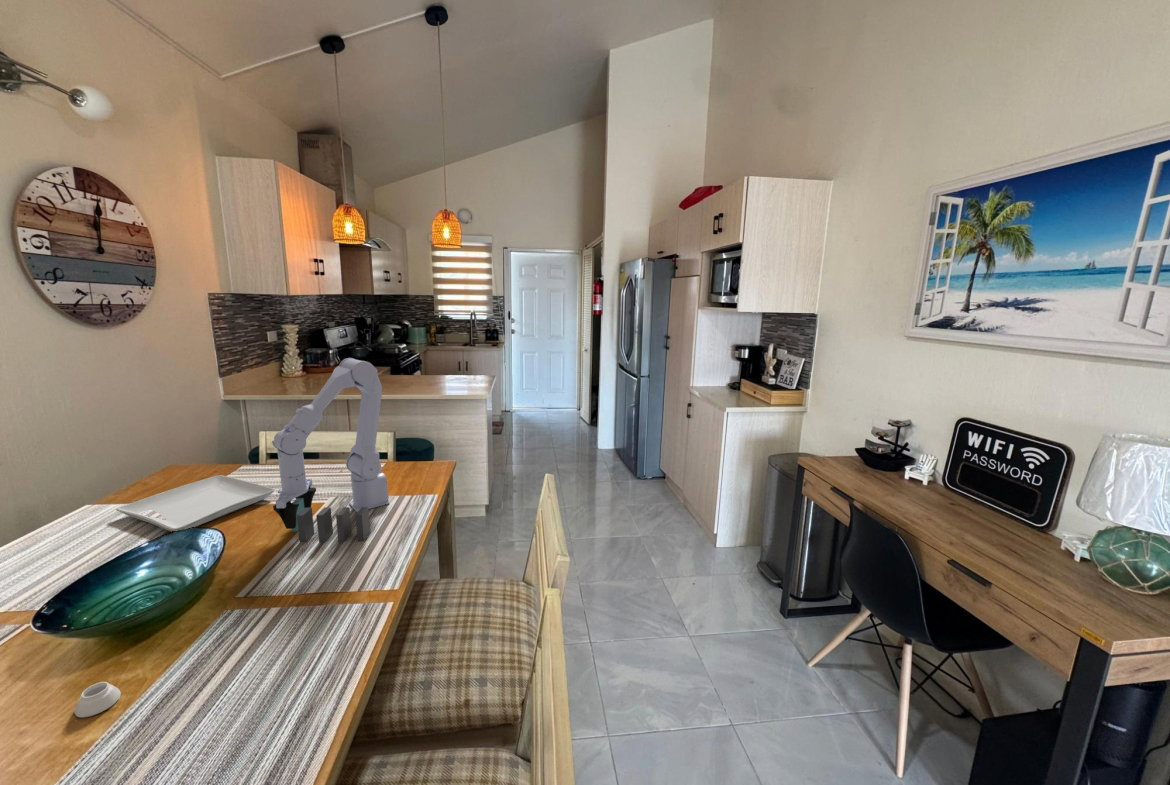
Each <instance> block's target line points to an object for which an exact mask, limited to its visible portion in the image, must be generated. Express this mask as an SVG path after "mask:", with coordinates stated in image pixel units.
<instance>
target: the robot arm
mask: <svg viewBox="0 0 1170 785" xmlns="http://www.w3.org/2000/svg"><path fill="white" fill-rule="evenodd" d="M378 371H379V370H378V369H377V368H376V366H374V365H373V364H372V363H371V362H370V361H365V360H359V359H355V358H353V357H348V358H344V359H343V360H341V361H340V363H339V365H338V366H336V367H335V368H334V369H333V371H332V373H331V375H330V377H329V379H327V381H326V383H325V384H324V386H322V388H321V390H320V391H319V392H318V393H317V395H316V396H315V398H314V399H313V400H312V401H311V403H310V404H306V405H303V406H301V407H300V408H297V409H296V410H295V415H294V416H293V417H292V419H291V420H290V421H289V422H288V423H287V424H285V425H284V426H283V429H282V430H279V431H277V432H276V433H275V435H274V437H273V440H271V444H272V445H273V447H274V448H275V449H277V458H278V459H277V461H278V470H279V476H280V478H279V479H280V484H281V485H280V486H281V488H280V489H278V490H277V494H279V496H278V498H277V500H275V504H274V505H273V511H275V513H277V515H278V516H279V517H280V518H281V520H282V522H283V526H284V527H285V529H287V530H289V529H290V530H291V529H294V528H295V527H296V513H297V509H298V506H299V504H292V501H294V500H296V499H297V498H303V499H304V508H312V502H313V499H314V496H315V494H316V492H317V488H316V487H315V486H313V480H312V478H307V477H306V476H307V475H306V468H305V466H306V465H305V459H304V452H303V450H304V449H305V448H306V446H307V439H308V437H309V436H310V435H311V433H312V432H313V431H314V430H315V429H316V427H318V425H319V424H320V422H321V421H322V420H323V416H324V415H323V411H324V410H325V409H326V408H327V406H328V405H330V404H331V402H333V400H334V399H335V398H336V397H337V396H338V394H339V393H340V392H341V391H342V390H344V389H349V388H352V387H356V388H357V389H358V390H359V391H360V392H361V393H360V394H361V396H360V403H359V413H358V420H357V429H356V439H355V444H354V445H353V446H352V447H351V448H350V453H349V454H348V455H349V456H347V458H346V462H345V464H346V468H347V470H348V471H350V479H351V492H352V500H350V501H349V502H348V503H349V505H350V506H351V508H352V509H353V510H354V511H355V513H357V512H358V511H359V510H360V509H361V508H362V507H368V510H371V509H375V508H377V507H382V506H386V505H388V503H389V504H390V500H389V488H388V480H387V476H386V474H385V473H384V472H381V470H382V464H381V461H380V453H379V451H378V448H377V446H376V444H377V436H378V428H379V420H380V413H381V410H380V409H381V402H382V394H383V385H382V383H381V380H380V377H379V375H378ZM312 486H313V487H312ZM385 504H386V505H385Z"/></svg>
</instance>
